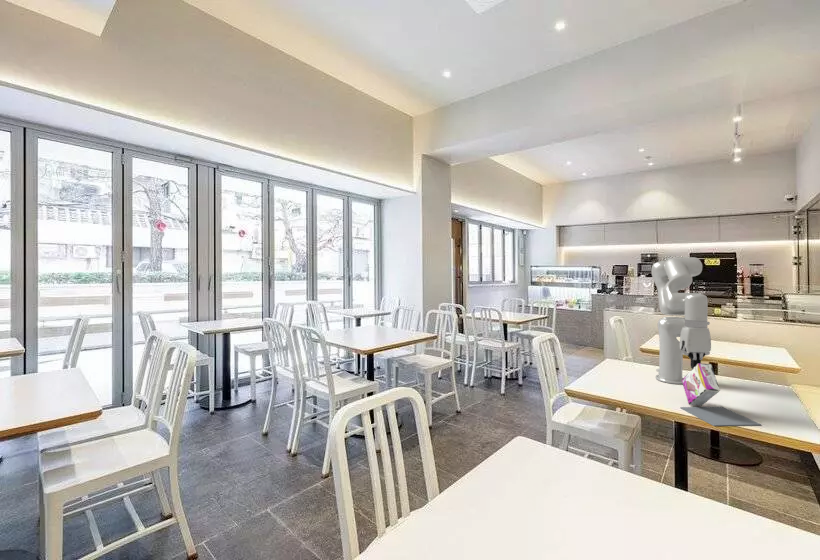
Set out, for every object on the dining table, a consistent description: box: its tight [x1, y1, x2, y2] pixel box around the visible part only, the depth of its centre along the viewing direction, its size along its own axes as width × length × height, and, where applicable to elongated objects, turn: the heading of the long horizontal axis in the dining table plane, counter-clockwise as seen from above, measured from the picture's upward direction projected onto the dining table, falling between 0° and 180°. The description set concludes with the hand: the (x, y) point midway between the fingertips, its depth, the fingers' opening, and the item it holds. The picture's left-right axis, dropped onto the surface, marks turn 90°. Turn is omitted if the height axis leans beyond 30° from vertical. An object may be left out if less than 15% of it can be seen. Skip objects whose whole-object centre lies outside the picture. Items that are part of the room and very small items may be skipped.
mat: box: [680, 406, 762, 427], centre depth 145 cm, size 17×17×1 cm
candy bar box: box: [682, 362, 721, 407], centre depth 152 cm, size 11×5×16 cm
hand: (695, 369), depth 155 cm, fingers closed
